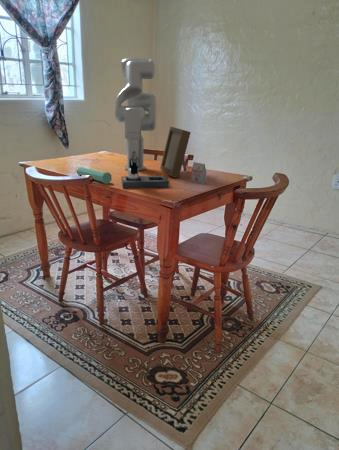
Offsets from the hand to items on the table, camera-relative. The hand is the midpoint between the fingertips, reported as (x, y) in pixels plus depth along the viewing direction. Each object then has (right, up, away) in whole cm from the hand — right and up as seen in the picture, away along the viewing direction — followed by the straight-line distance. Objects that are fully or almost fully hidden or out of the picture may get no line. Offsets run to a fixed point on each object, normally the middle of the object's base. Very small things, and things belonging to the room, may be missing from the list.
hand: (133, 171), depth 171 cm
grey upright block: (+32, -4, +10) cm, 34 cm away
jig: (+5, -6, +3) cm, 9 cm away
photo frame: (+22, +3, +31) cm, 38 cm away
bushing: (0, -6, +2) cm, 7 cm away
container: (-20, +1, +12) cm, 24 cm away
